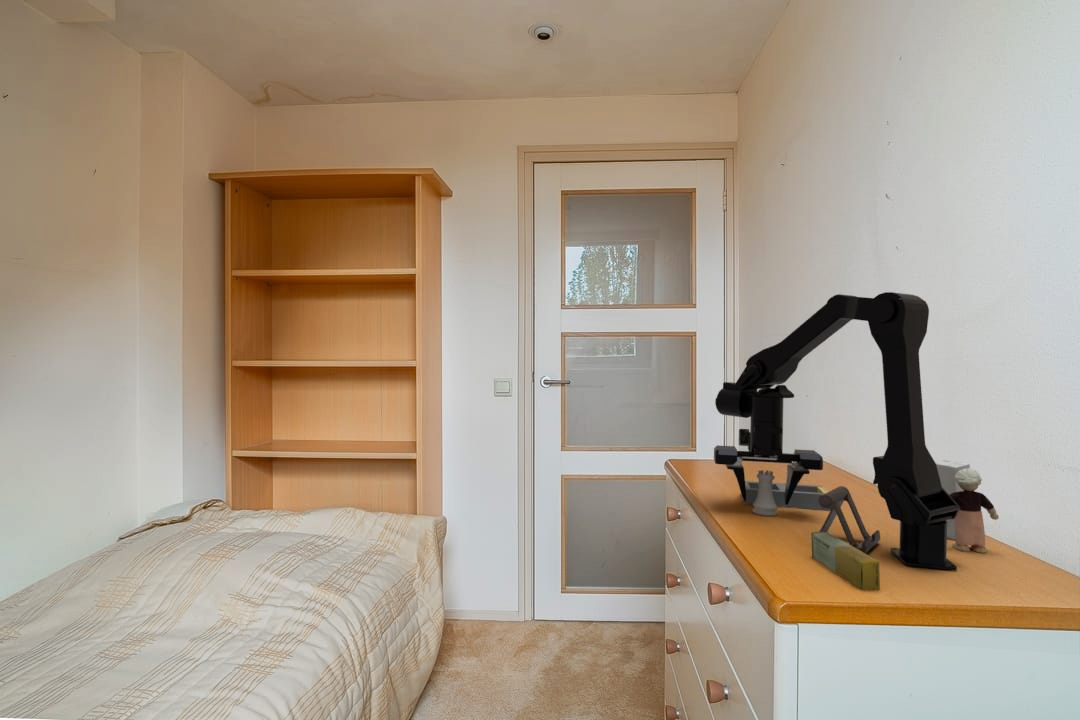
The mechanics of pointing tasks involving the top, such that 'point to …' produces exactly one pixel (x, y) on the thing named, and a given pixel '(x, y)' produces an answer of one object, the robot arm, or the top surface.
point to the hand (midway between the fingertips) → (765, 502)
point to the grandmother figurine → (970, 512)
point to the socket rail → (800, 499)
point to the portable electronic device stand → (834, 503)
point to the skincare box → (950, 485)
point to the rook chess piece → (765, 495)
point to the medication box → (846, 561)
